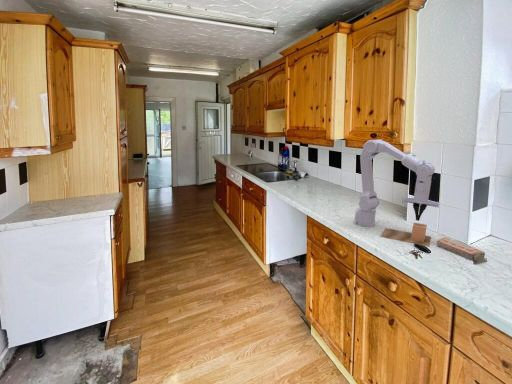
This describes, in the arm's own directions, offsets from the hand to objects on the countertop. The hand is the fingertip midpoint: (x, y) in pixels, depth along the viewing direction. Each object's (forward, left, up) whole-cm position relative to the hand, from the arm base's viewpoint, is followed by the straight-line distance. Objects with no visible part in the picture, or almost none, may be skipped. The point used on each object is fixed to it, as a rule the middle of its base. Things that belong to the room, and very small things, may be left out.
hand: (417, 219), depth 137 cm
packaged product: (+16, -6, -10) cm, 20 cm away
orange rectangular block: (+1, -1, -9) cm, 9 cm away
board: (-4, -1, -10) cm, 10 cm away
